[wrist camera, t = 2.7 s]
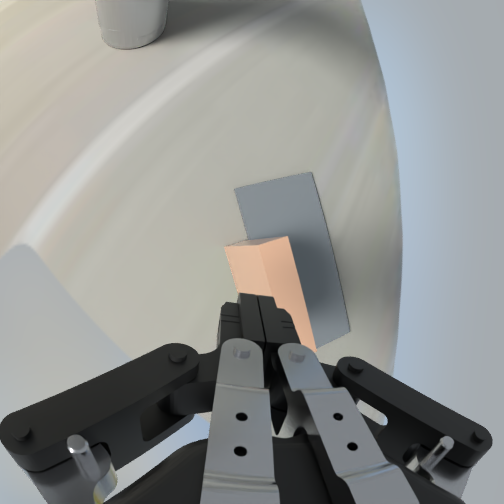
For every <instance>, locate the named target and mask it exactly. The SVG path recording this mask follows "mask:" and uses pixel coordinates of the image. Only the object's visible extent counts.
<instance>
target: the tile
mask: <svg viewBox="0 0 504 504" xmlns="http://www.w3.org/2000/svg"><path fill="white" fill-rule="evenodd" d="M224 248H225V251H226V255H227V258H228V262H229V265H230V268H231V272H232V275H233V279H234V282H235V285H236V289H237V292H238V295H239V292H240V293H248V294H256V295H264V296H272V297H274V299H275V303H276V306H277V308H283V309H285V310H286V311H287V312H288V313H289V314H290V315H291V317H292V320H293V323H294V325H295V329H296V331H297V334H298V336H299V339H300V342H301V345H304V346H306V347H308V348H310V349H311V350H312V351H313V352H316V351H317V350H316V345H315V341H314V337H313V333H312V329H311V324H310V320H309V316H308V312H307V308H306V304H305V300H304V296H303V292H302V288H301V284H300V280H299V276H298V273H297V269H296V265H295V261H294V257H293V254H292V250H291V246H290V243H289V239H288V236H283V237H274V238H264V239H255V240H246V241H242V242H238V243H235V244H232V245H228V246H225V247H224Z"/></svg>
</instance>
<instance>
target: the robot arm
mask: <svg viewBox="0 0 504 504" xmlns="http://www.w3.org/2000/svg"><path fill="white" fill-rule="evenodd" d="M95 2H96V8H97V15H98V21H99V25H100V29H101V35H102V39H103V40H104V42H105V43H107V44H108V45H109V46H112V47H114V48H118V49H132V48H137V47H141V46H144V45H147V44H149V43H150V42H152V41H154V40H155V39H157V38H158V37H159V36H160V35H161V34H162V32H163V30H164V29H165V25H166V17H167V9H168V3H169V0H95ZM359 400H362V401H364V402H365V403H367V404H368V405H370V406H372V407H373V408H375V409H377V410H378V411H380V412H381V413H383V414H384V415H385V416H386V417H387V419H388V423H387V425H380V424H378V423H376V422H375V421H373V420H371V419H370V418H368V417H367V416H365V415H363V414H362V413H360V412H359V410H358V408H357V406H356V405H357V403H358V401H359ZM211 411H212V415H211V422H210V430H209V437H208V438H207V439H203V440H198V441H196V442H192V443H189V444H187V445H185V446H183V447H181V448H179V449H178V450H176V451H175V452H173V453H172V454H171V455H170V456H168V457H167V458H166V459H164V460H163V461H162V462H161V463H159V464H158V465H157V466H155V467H154V468H153V469H151V470H150V471H149V472H147V473H146V474H145V475H143V476H142V477H141V478H139V479H138V480H137V481H135V482H134V483H132V484H131V485H130V486H128V487H127V488H125V489H124V490H122V491H121V492H120V493H118V494H116V495H115V496H113V497H112V498H110V499H109V500H107V501H106V502H104V500H105V498H106V497H107V496H108V495H109V494H110V493H111V492H112V491H113V490H114V489H115V487H116V485H117V475H116V472H115V471H117V470H118V469H120V468H122V467H123V466H125V465H126V464H128V463H129V462H131V461H133V460H134V459H136V458H137V457H139V456H141V455H142V454H144V453H145V452H146V451H148V450H150V449H151V448H153V447H154V446H156V445H157V444H159V443H160V442H162V441H163V440H164V439H166V438H167V437H169V436H170V435H172V434H173V433H175V432H176V431H177V430H179V429H180V428H182V427H183V426H184V425H186V424H187V423H189V422H190V421H191V420H192V419H193V417H194V414H197V413H204V412H211ZM0 440H1V442H2V444H3V445H4V447H5V448H6V450H7V451H8V452H9V454H10V455H11V456H12V458H13V459H14V460H15V461H16V463H17V464H18V465H19V467H20V468H21V469H22V470H23V471H24V473H25V474H26V475H27V476H28V478H29V479H30V480H31V481H32V482H33V483H34V484H35V486H36V487H37V489H38V490H39V492H40V493H41V495H42V496H43V498H44V499H45V500H46V502H47V503H48V504H465V503H464V501H462V500H461V496H462V494H463V491H464V489H465V486H466V484H467V481H468V478H469V475H470V472H471V469H472V468H473V467H474V466H475V464H477V462H478V461H479V460H480V459H481V458H482V456H483V455H484V454H485V453H486V452H487V451H488V450H489V449H490V448H491V446H492V437H491V434H490V433H489V431H488V430H487V429H486V428H484V427H483V426H481V425H479V424H477V423H475V422H474V421H472V420H470V419H468V418H466V417H464V416H462V415H460V414H458V413H456V412H455V411H453V410H451V409H449V408H447V407H445V406H443V405H441V404H440V403H438V402H436V401H434V400H432V399H431V398H429V397H427V396H425V395H423V394H422V393H420V392H418V391H416V390H414V389H413V388H411V387H409V386H407V385H405V384H404V383H402V382H400V381H398V380H397V379H395V378H393V377H391V376H390V375H388V374H386V373H384V372H383V371H381V370H379V369H377V368H376V367H374V366H372V365H371V364H369V363H367V362H365V361H364V360H362V359H359V358H356V357H343V358H341V359H340V360H339V361H338V363H337V365H336V366H332V365H328V364H324V363H320V362H319V360H318V358H317V356H316V355H315V353H314V352H313V351H312V350H311V349H310V348H308V347H306V346H304V345H301V342H300V339H299V336H298V334H297V331H296V329H295V325H294V323H293V320H292V317H291V315H290V314H289V313H288V312H287V311H286V310H285V309H283V308H277V306H276V303H275V299H274V297H272V296H264V295H256V294H248V293H240V292H239V295H238V300H237V303H231V302H226V303H225V304H224V305H223V306H222V307H221V313H220V320H219V327H218V334H217V349H216V350H214V351H212V352H210V353H206V354H198V353H197V351H196V350H195V349H193V348H192V347H190V346H188V345H185V344H180V343H171V344H166V345H163V346H161V347H159V348H157V349H155V350H153V351H151V352H149V353H147V354H145V355H143V356H141V357H139V358H136V359H134V360H132V361H130V362H128V363H126V364H124V365H122V366H120V367H117V368H115V369H113V370H111V371H109V372H107V373H104V374H102V375H100V376H98V377H96V378H93V379H91V380H89V381H87V382H84V383H82V384H80V385H78V386H75V387H73V388H71V389H68V390H66V391H64V392H62V393H59V394H57V395H55V396H52V397H50V398H48V399H45V400H43V401H40V402H38V403H35V404H33V405H30V406H28V407H26V408H23V409H21V410H18V411H16V412H13V413H11V414H9V415H7V416H6V417H5V418H4V419H3V421H2V422H1V424H0Z"/></svg>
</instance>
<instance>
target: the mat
mask: <svg viewBox="0 0 504 504" xmlns="http://www.w3.org/2000/svg"><path fill="white" fill-rule="evenodd" d="M234 190H235V194H236V197H237V201H238V204H239V208H240V212H241V215H242V219H243V222H244V226H245V229H246V233H247V236H248V240H255V239H264V238H274V237H283V236H288V239H289V243H290V246H291V250H292V254H293V257H294V261H295V265H296V269H297V273H298V276H299V280H300V284H301V288H302V292H303V296H304V300H305V304H306V308H307V312H308V316H309V320H310V324H311V329H312V333H313V337H314V341H315V345H316V349H317V348H319V347H321V346H323V345H325V344H327V343H329V342H331V341H333V340H335V339H337V338H339V337H341V336H343V335H345V334H347V333H349V332H350V329H349V324H348V319H347V314H346V309H345V304H344V299H343V294H342V290H341V285H340V281H339V276H338V272H337V267H336V263H335V259H334V255H333V251H332V247H331V243H330V239H329V235H328V231H327V227H326V223H325V219H324V216H323V212H322V208H321V205H320V201H319V198H318V194H317V191H316V187H315V184H314V180H313V177H312V174H311V172H308V173H303V174H298V175H293V176H288V177H283V178H279V179H274V180H270V181H265V182H261V183H257V184H252V185H248V186H244V187H240V188H236V189H234Z"/></svg>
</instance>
